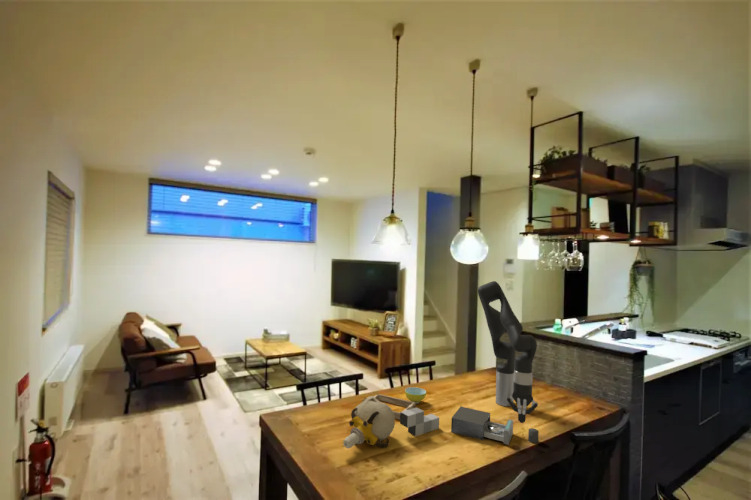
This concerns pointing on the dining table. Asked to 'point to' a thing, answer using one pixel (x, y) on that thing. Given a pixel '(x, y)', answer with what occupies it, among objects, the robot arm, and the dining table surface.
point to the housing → (469, 422)
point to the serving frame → (396, 401)
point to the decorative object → (370, 423)
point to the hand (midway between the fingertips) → (521, 422)
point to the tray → (504, 436)
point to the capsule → (533, 435)
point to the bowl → (415, 394)
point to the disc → (494, 429)
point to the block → (418, 421)
